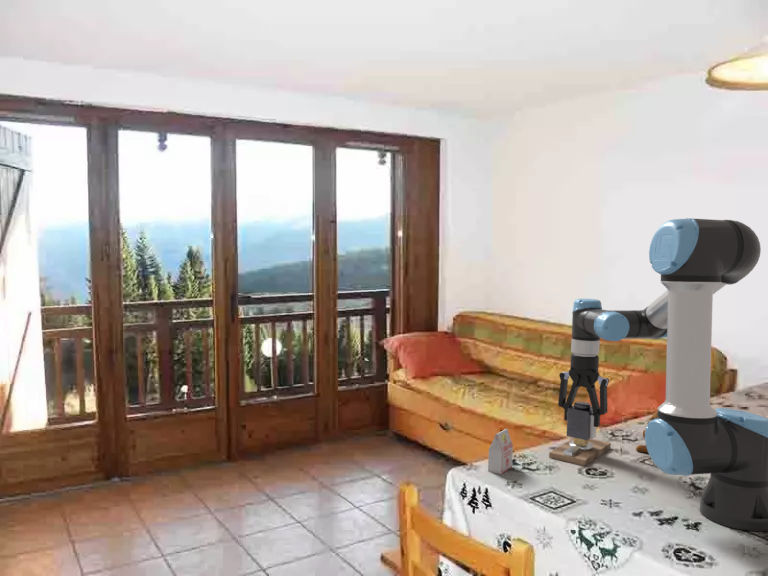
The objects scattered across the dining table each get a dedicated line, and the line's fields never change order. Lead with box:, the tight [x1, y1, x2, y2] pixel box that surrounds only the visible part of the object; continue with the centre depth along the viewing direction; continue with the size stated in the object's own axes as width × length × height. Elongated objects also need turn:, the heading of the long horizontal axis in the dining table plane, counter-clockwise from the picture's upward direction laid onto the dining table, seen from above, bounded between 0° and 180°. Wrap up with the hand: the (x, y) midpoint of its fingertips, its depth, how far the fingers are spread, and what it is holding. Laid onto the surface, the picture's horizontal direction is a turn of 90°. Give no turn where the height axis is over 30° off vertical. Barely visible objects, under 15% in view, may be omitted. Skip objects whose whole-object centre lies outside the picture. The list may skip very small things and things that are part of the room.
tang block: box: [548, 437, 612, 467], centre depth 184 cm, size 20×10×6 cm, turn 142°
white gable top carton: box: [487, 428, 514, 475], centre depth 170 cm, size 4×7×10 cm, turn 145°
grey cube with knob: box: [566, 401, 594, 440], centre depth 184 cm, size 6×6×9 cm
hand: (581, 434), depth 184 cm, fingers closed on grey cube with knob, 6 cm apart
